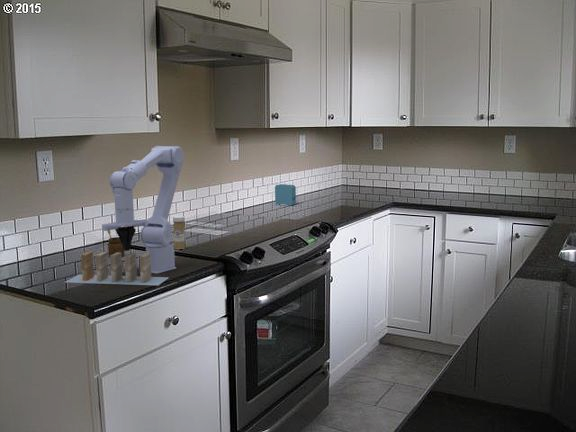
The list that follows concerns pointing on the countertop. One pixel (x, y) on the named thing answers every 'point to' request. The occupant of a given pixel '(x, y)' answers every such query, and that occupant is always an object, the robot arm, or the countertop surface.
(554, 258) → the countertop surface
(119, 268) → the domino
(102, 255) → the domino
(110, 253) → the utensil holder
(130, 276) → the domino
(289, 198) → the data package
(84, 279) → the domino
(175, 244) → the sprinkles bottle
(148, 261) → the domino
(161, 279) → the mat
